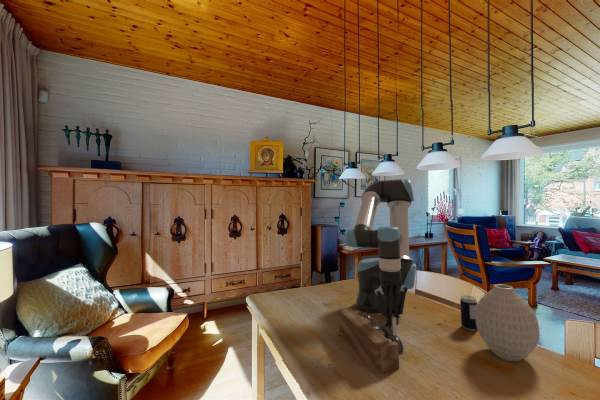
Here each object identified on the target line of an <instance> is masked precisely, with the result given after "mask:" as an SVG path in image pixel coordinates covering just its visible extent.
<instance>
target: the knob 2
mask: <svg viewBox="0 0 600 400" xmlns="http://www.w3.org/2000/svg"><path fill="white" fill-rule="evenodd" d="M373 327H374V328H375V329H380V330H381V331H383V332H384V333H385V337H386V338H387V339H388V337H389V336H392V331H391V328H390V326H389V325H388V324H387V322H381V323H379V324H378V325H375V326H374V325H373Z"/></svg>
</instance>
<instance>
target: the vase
mask: <svg viewBox="0 0 600 400" xmlns="http://www.w3.org/2000/svg"><path fill="white" fill-rule="evenodd" d="M475 321H476V326H477V329H476V330H477V332H478V334H479V336H480V338H481V340H482V341H483V343H484V344H485V345H486V347H487V348H488V349H489V350H490V351H491V352H492V353H493V354H494V355H495V356H497V357H498V358H500V359H503V360H505V361H508V362H520V361H522V360H524V359H527V358H528V357H529V356H531V354H532V353H533V352H534V351H535V350H536V348H537V346H538V343H539V340H540V326H539V321H538V318H537V316H536V313H535V312H534V310H533V309H532V308H531V306H530V304H528V302H527V301H526V300H525V299H523V298H522V296H520V294H518V293H517V292H516V291H515V290H514V287H513V286H511V285H508V284H503V283H502V284H500V283H498V284H496V283H495V284H494V285H493V288H492V289H490V290H489V291H488V292H487V293H485V294H484V295H482V296H481V298H480V299H479V301H477V307H476V312H475Z"/></svg>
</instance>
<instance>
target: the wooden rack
mask: <svg viewBox="0 0 600 400" xmlns="http://www.w3.org/2000/svg"><path fill="white" fill-rule="evenodd" d="M361 316H362V315H360V312H359V311H358V310H353V309H352V308H351V307H344V308H339V309H338V327H339V328H338V329H339V333H340V332H341V333H342V334H341V333H340V334H341V335H342V337H343V336H344V337H345V338H346V339H345V338H344V339H345V340H346V341H347V342H348V343H350V344H351V345H352V346H351V345H350V344H349V345H350V346H351V347H352V348H353V349H354V351H355V352H356V351H357V352H358V353H357V352H356V353H357V354H358V355H359V357H361V358H363V359H364V360H363V361H364V362H365V363H366V364H367V366H368V367H369V366H370V367H369V368H370V369H371V370H372V372H373V373H374V374H375V373H376V374H375V375H377V374H378V373H379V374H383V373H387V372H392V371H397V370H399V369H400V355H399V349H398V344H397V343H396V342H395V341H394V342H389V340H388V339H387V338H386V337H385V333H384V332H383V331H381V330H380V329H375V328H374V327H373V326H374V325H373V326H371V322H370V321H369V320H368V319H367V318H362V317H361Z"/></svg>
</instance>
